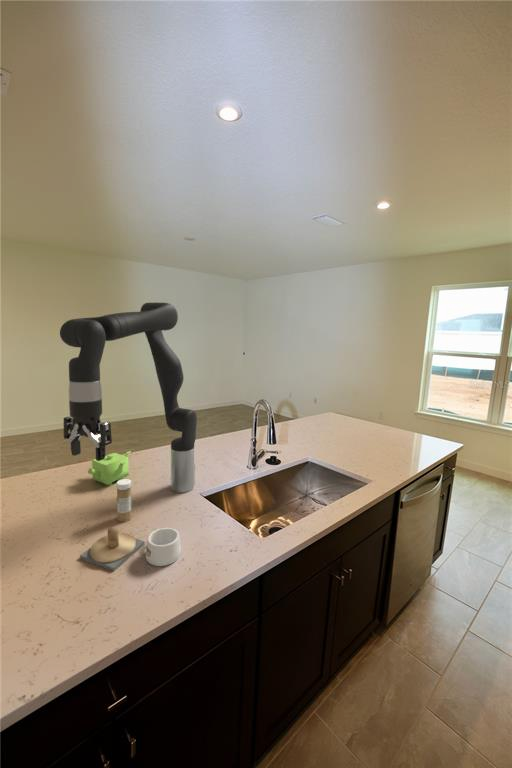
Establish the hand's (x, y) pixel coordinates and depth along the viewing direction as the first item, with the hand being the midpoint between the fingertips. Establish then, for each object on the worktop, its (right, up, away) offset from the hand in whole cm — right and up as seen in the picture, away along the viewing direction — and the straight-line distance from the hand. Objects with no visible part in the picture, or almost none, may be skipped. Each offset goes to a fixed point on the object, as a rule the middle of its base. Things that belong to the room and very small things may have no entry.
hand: (88, 457), depth 85 cm
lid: (+4, -28, +7) cm, 29 cm away
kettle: (-16, -22, +50) cm, 57 cm away
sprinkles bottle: (0, -26, +23) cm, 35 cm away
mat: (+4, -29, +7) cm, 30 cm away
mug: (+18, -30, +7) cm, 35 cm away
